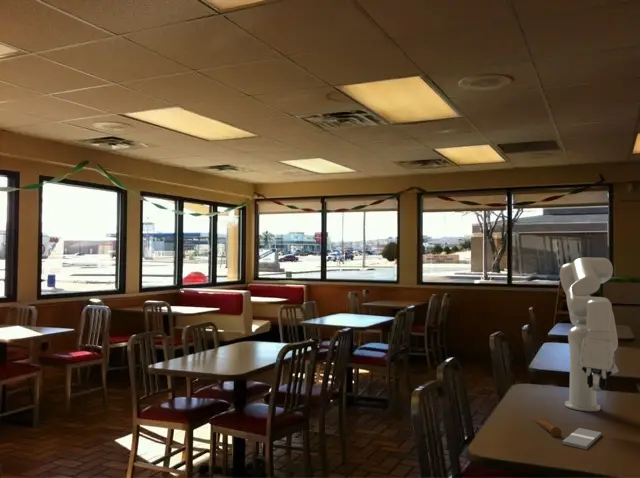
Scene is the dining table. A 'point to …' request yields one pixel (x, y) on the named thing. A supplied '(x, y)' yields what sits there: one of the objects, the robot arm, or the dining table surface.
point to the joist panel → (582, 438)
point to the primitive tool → (548, 427)
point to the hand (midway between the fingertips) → (596, 387)
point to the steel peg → (596, 379)
